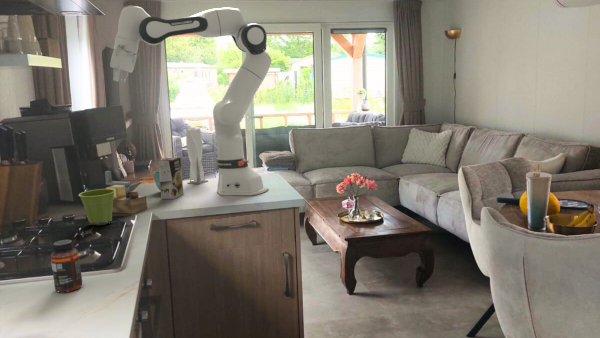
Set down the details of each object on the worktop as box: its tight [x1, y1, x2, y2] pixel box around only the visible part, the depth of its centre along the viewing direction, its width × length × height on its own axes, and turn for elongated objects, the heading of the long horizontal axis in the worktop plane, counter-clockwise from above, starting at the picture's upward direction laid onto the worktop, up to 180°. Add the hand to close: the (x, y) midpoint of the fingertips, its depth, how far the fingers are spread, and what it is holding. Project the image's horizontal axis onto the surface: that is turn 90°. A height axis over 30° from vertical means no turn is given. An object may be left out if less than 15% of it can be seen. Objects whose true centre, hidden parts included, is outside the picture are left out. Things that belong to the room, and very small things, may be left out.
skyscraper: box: [185, 123, 209, 185], centre depth 252 cm, size 8×8×28 cm
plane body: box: [112, 190, 148, 215], centre depth 202 cm, size 15×8×8 cm, turn 64°
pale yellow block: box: [105, 185, 126, 198], centre depth 203 cm, size 5×5×4 cm
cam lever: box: [104, 170, 132, 198], centre depth 202 cm, size 11×2×10 cm, turn 64°
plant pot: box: [78, 188, 115, 223], centre depth 182 cm, size 12×12×11 cm
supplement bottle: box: [50, 239, 83, 293], centre depth 123 cm, size 6×6×11 cm
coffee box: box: [157, 157, 184, 200], centre depth 222 cm, size 9×6×16 cm
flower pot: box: [152, 170, 161, 192], centre depth 235 cm, size 9×9×9 cm
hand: (119, 81), depth 209 cm, fingers open, 8 cm apart
